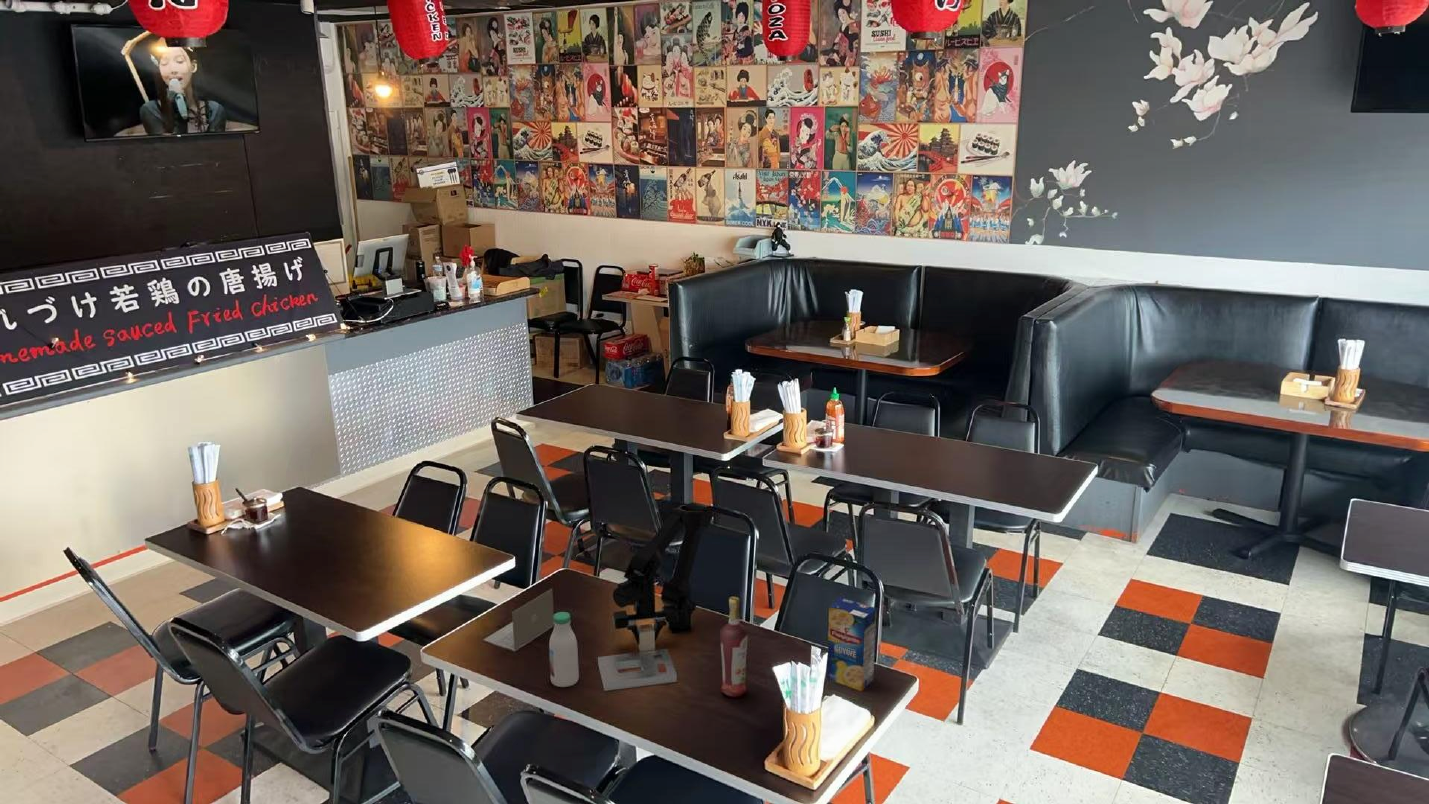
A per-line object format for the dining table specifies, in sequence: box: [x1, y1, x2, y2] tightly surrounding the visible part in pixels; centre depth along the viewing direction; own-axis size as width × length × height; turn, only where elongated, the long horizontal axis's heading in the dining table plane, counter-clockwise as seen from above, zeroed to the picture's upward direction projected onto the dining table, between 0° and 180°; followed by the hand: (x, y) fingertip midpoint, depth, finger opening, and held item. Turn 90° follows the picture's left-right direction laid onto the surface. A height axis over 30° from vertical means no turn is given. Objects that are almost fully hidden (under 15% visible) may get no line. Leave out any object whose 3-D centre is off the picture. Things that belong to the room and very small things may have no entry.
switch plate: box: [597, 648, 678, 692], centre depth 284 cm, size 20×14×3 cm
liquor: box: [719, 596, 749, 698], centre depth 271 cm, size 7×7×28 cm
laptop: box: [483, 588, 555, 652], centre depth 305 cm, size 18×12×13 cm
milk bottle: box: [548, 611, 580, 688], centre depth 278 cm, size 8×8×20 cm
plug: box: [637, 623, 656, 652], centre depth 298 cm, size 4×4×7 cm
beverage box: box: [826, 597, 877, 692], centre depth 278 cm, size 7×11×22 cm, turn 54°
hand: (646, 642), depth 298 cm, fingers closed on plug, 4 cm apart
